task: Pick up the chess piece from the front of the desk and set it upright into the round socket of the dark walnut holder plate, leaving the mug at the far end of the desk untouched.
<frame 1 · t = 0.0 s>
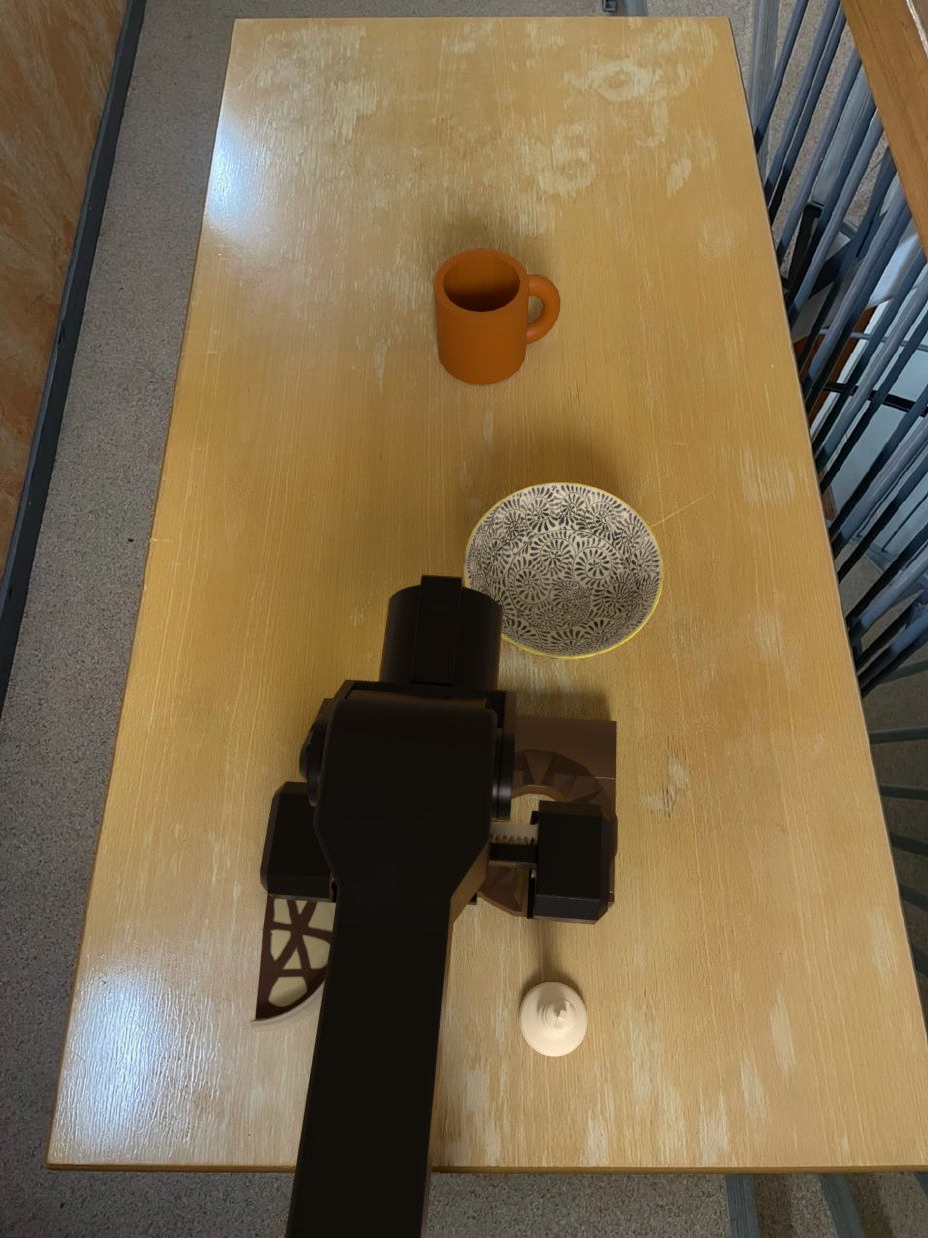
hand: (443, 876, 58), 13 cm above the table, tool pointing down, fingers open, 9 cm apart
food container: (330, 944, 69), on the table
holder: (535, 810, 72), on the table
mug: (497, 351, 92), on the table
chess piece: (552, 1018, 66), on the table
bowl: (556, 606, 80), on the table
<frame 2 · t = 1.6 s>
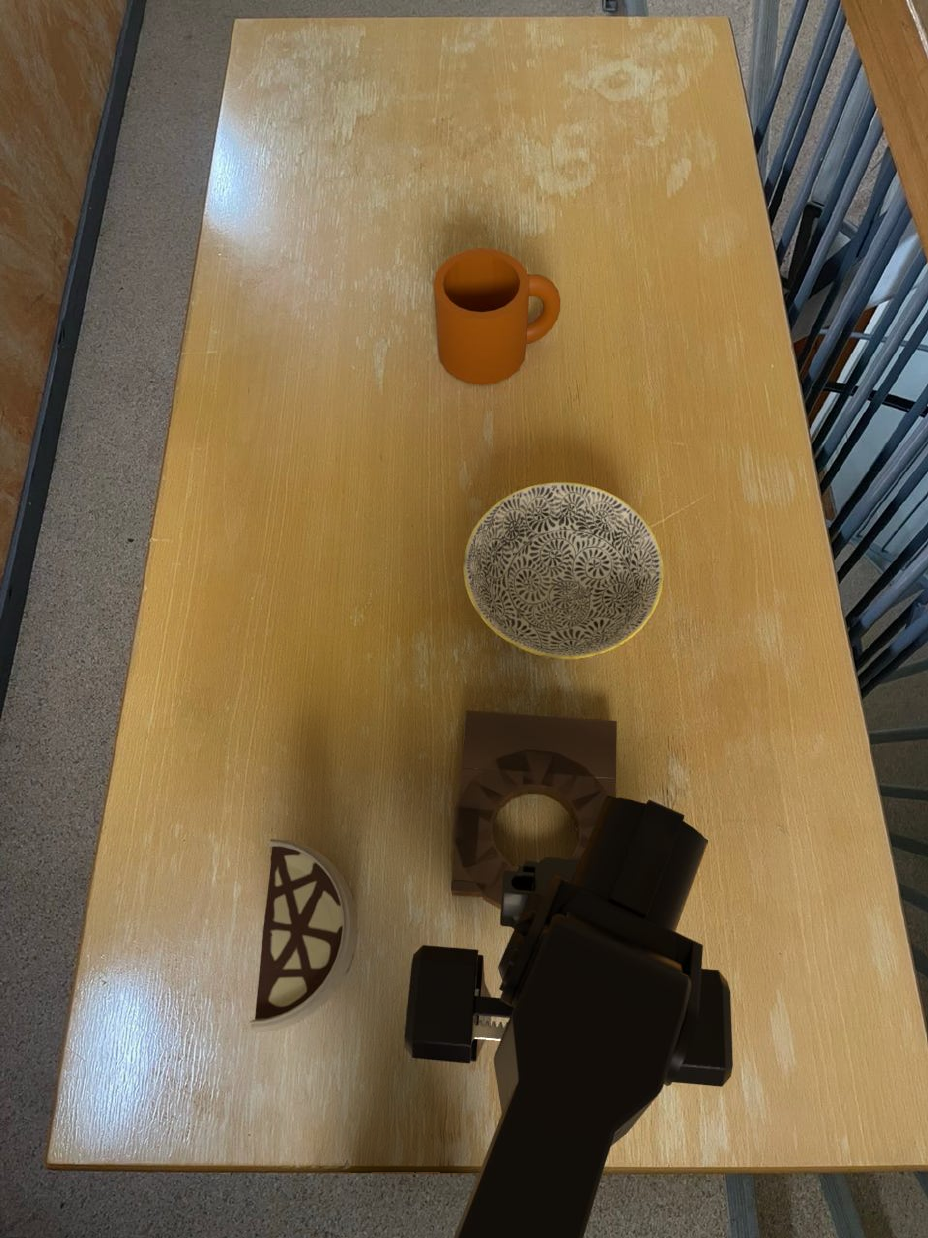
hand: (556, 1018, 62), 5 cm above the table, tool pointing down, fingers open, 9 cm apart
nothing on the table moved.
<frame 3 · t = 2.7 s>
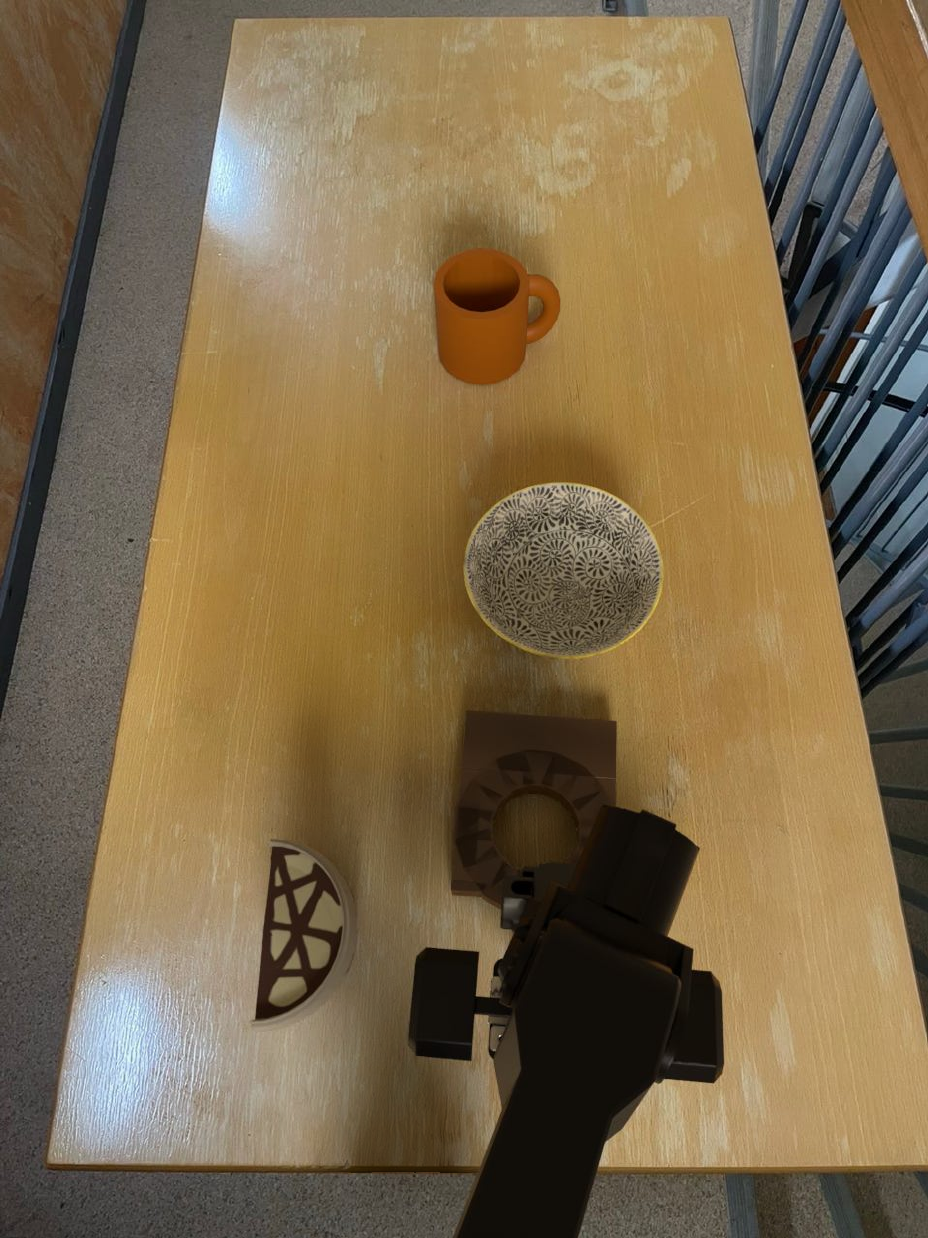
hand: (555, 1016, 64), 3 cm above the table, tool pointing down, fingers closed on chess piece
chess piece: (552, 1018, 66), on the table, touching gripper
everything else where it was.
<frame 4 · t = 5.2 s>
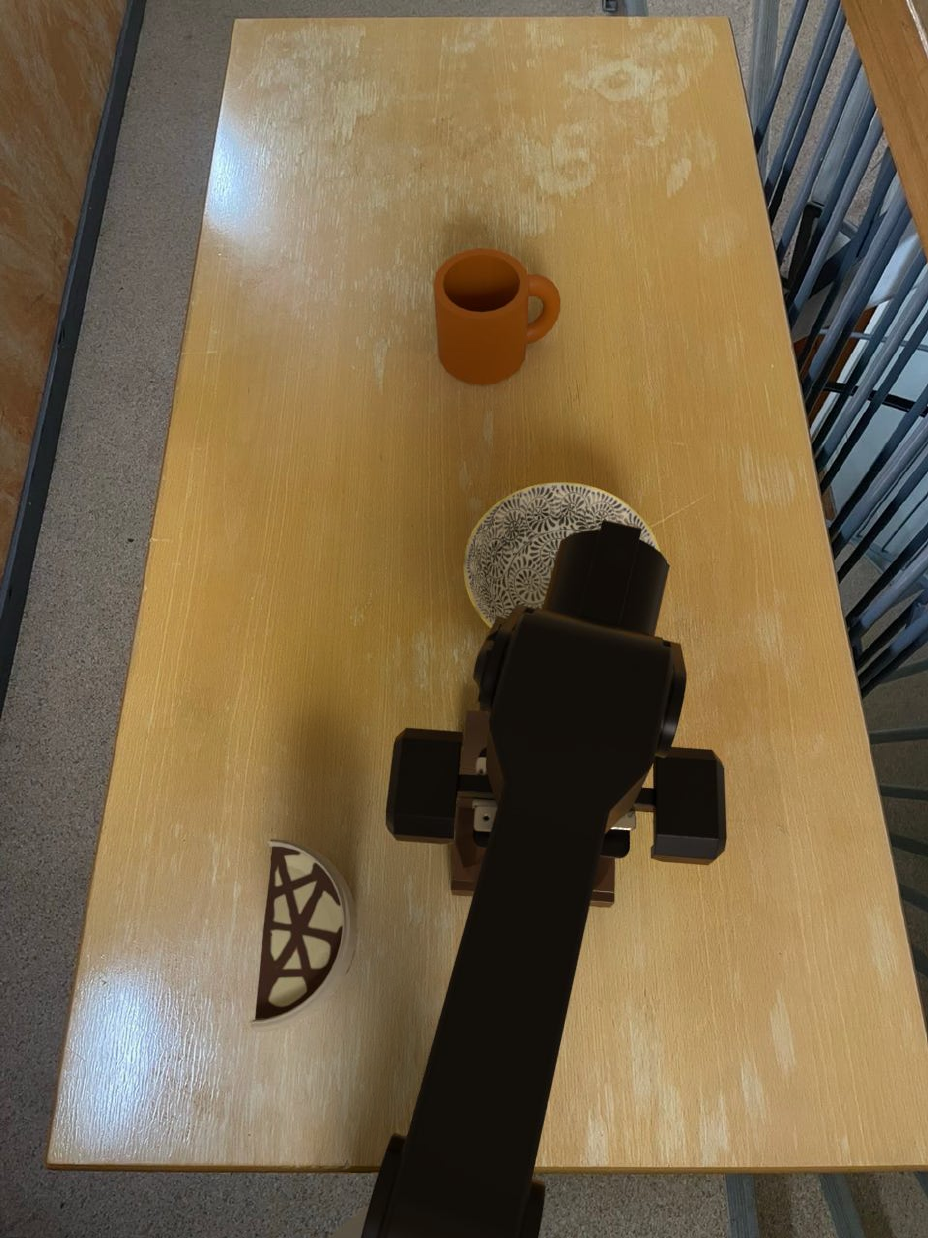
hand: (546, 826, 60), 12 cm above the table, tool pointing down, fingers closed on chess piece
chess piece: (543, 836, 62), point 9 cm above the table, touching gripper
everything else where it was.
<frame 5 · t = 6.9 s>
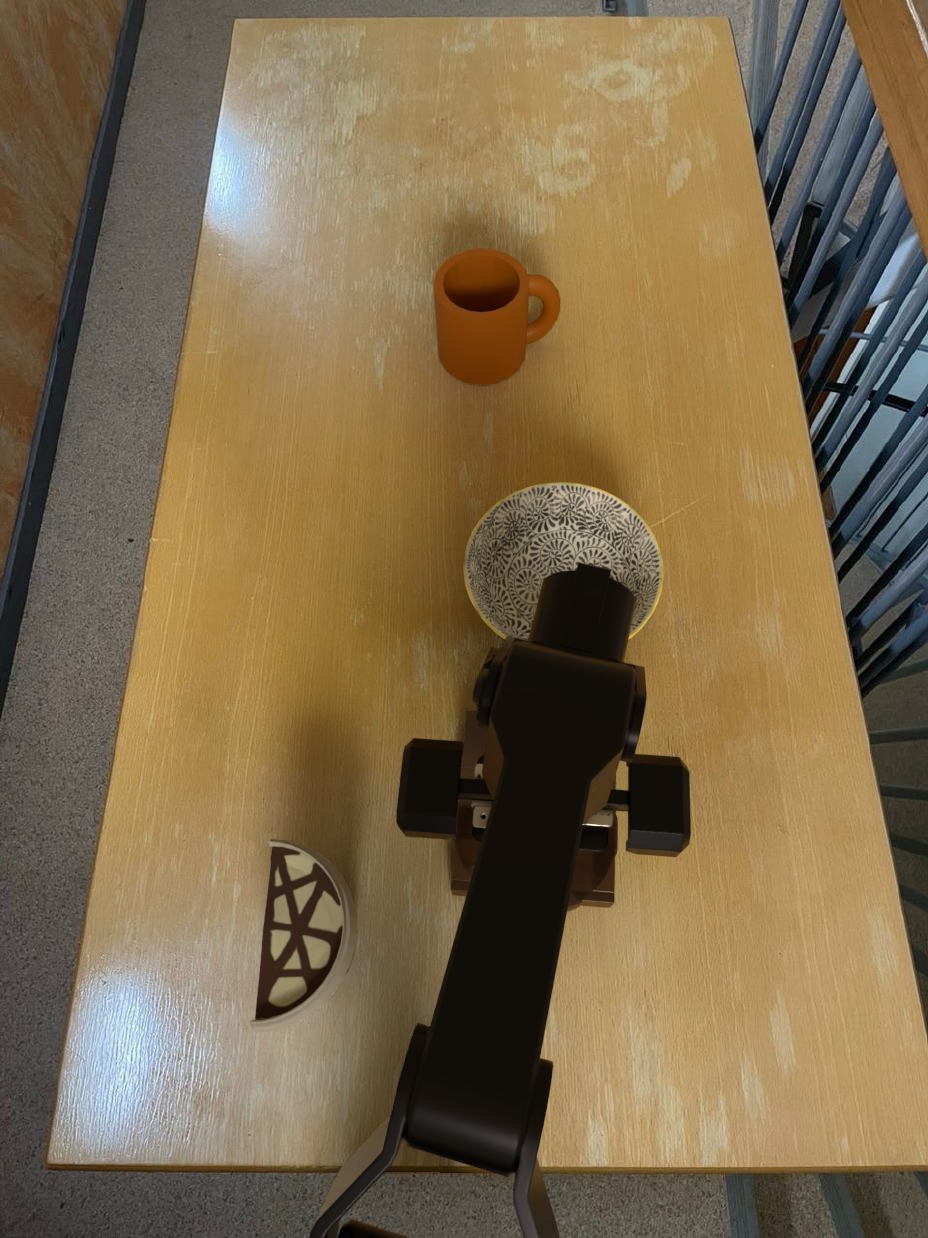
hand: (536, 824, 68), 4 cm above the table, tool pointing down, fingers closed on chess piece
chess piece: (534, 833, 70), point 2 cm above the table, touching gripper
everything else where it was.
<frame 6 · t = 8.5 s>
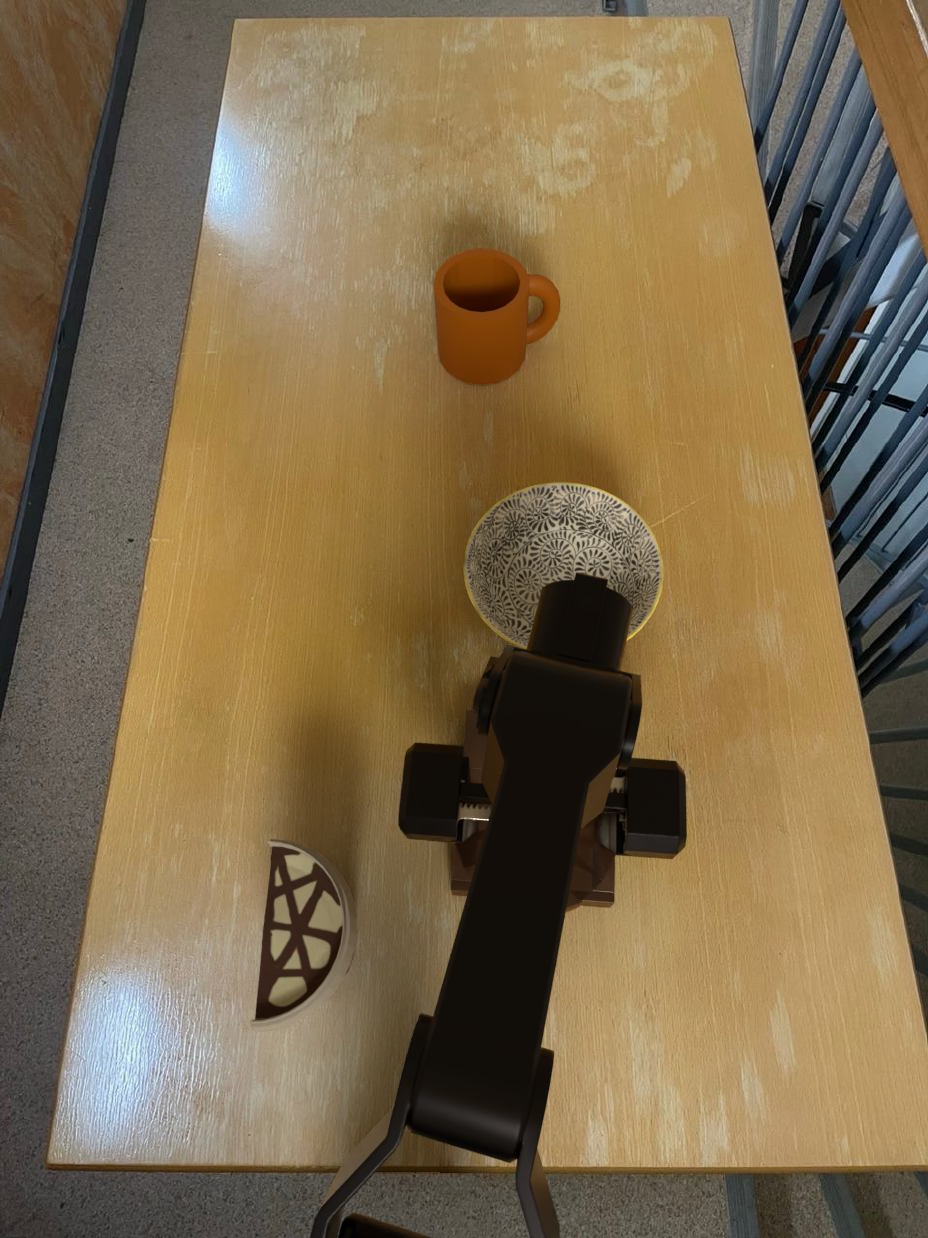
hand: (535, 826, 69), 3 cm above the table, tool pointing down, fingers open, 9 cm apart
chess piece: (533, 838, 72), resting in holder
everything else where it was.
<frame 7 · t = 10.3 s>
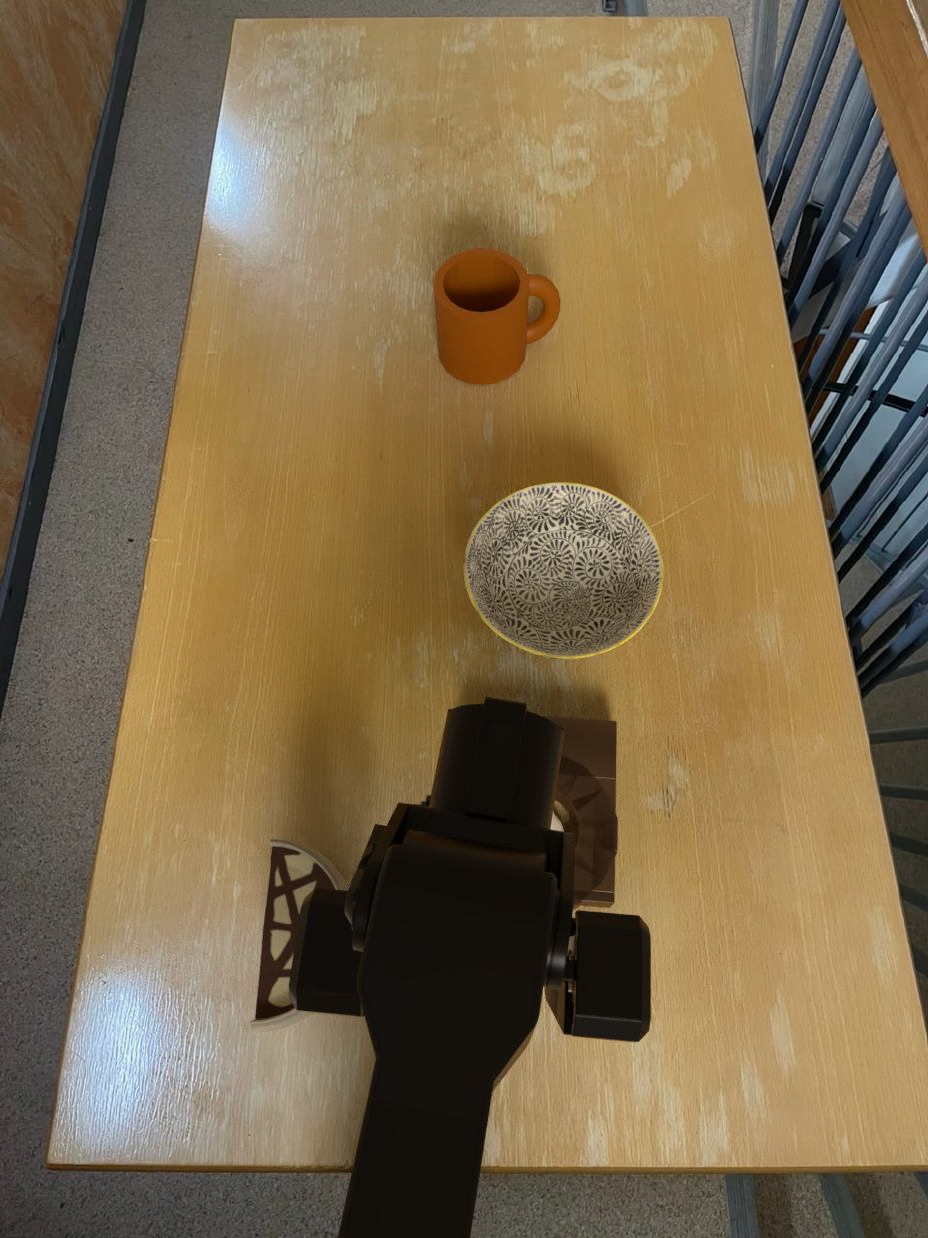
hand: (473, 976, 57), 12 cm above the table, tool pointing down, fingers open, 9 cm apart
nothing on the table moved.
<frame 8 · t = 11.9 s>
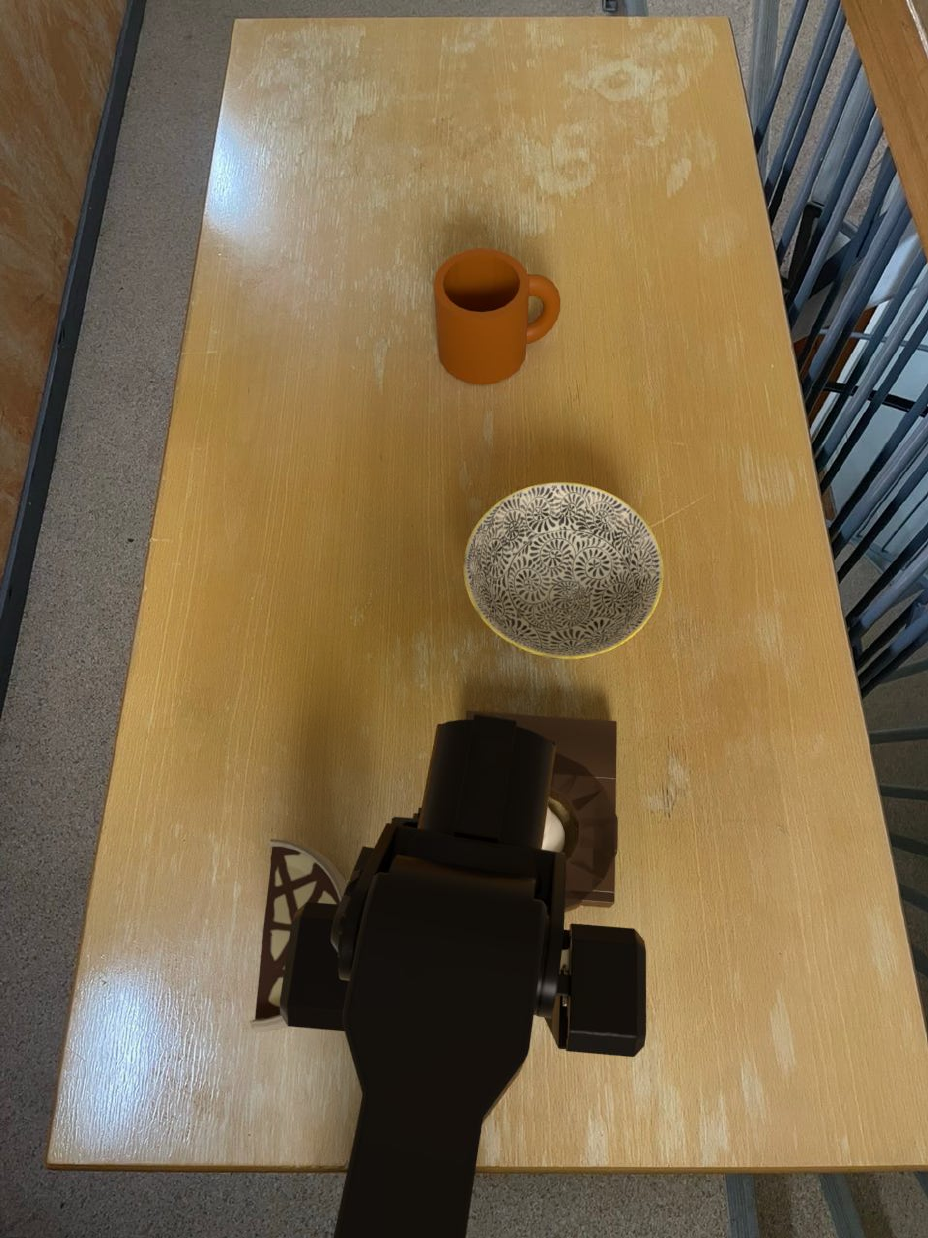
hand: (467, 986, 56), 12 cm above the table, tool pointing down, fingers open, 9 cm apart
nothing on the table moved.
at the end: chess piece 0.2 cm from the target spot in the holder, point 0.0 cm above the holder's base; chess piece tilted 1°; mug moved 0.2 cm from its start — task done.
